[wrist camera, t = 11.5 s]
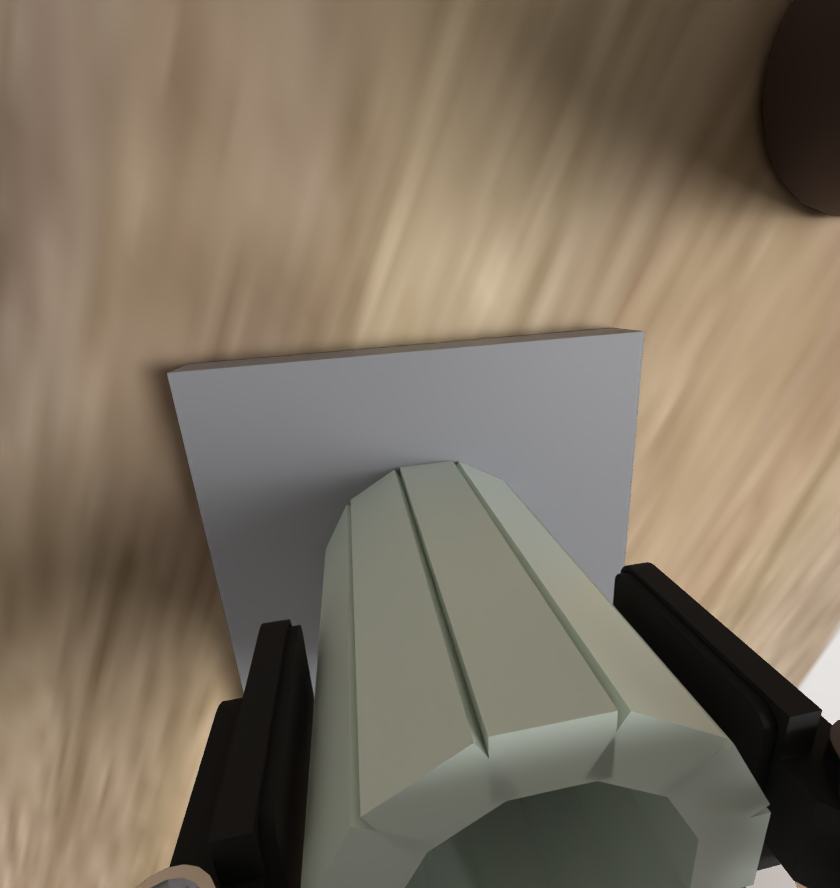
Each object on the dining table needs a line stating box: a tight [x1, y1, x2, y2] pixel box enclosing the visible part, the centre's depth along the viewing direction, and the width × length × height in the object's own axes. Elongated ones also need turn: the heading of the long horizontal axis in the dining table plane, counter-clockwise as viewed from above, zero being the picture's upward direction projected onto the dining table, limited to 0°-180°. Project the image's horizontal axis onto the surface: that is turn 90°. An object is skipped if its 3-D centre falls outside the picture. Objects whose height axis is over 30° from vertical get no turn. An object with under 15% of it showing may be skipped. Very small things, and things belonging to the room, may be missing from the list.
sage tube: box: [301, 461, 771, 888], centre depth 10 cm, size 6×6×8 cm
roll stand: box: [167, 328, 644, 698], centre depth 11 cm, size 12×12×8 cm
